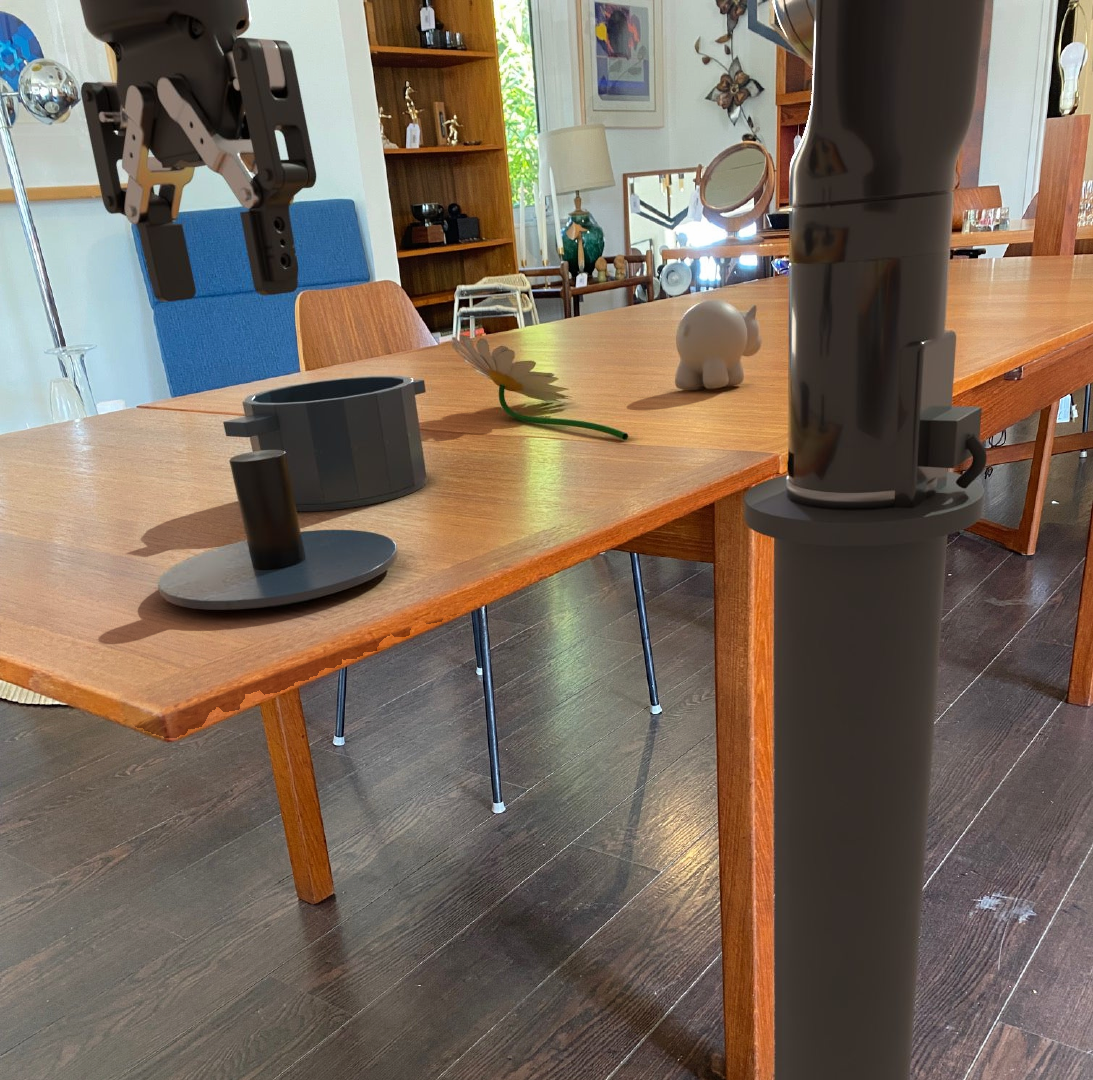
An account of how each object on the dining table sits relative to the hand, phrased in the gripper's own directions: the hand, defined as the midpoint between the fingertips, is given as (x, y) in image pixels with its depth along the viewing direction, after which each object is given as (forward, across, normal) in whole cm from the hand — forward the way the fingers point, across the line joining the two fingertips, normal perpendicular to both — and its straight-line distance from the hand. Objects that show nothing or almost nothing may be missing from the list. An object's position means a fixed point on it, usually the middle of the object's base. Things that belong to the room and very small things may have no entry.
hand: (224, 297), depth 55 cm
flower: (+15, +16, -45) cm, 50 cm away
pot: (+15, +14, -18) cm, 27 cm away
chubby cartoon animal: (+15, +8, -67) cm, 69 cm away
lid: (+14, 0, 0) cm, 15 cm away
